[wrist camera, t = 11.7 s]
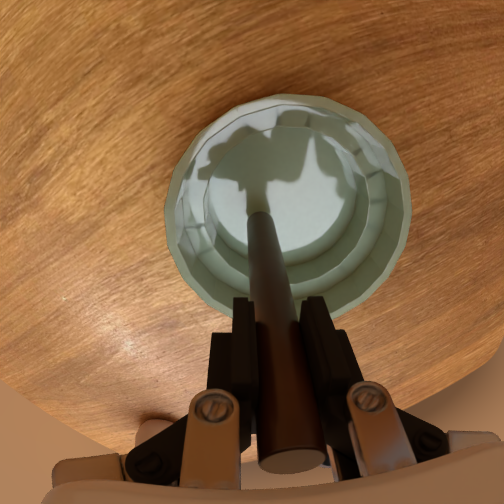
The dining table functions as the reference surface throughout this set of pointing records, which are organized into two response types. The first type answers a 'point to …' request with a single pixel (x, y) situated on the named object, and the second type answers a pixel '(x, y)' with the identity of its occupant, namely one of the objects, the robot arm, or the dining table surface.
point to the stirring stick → (280, 362)
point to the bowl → (290, 201)
